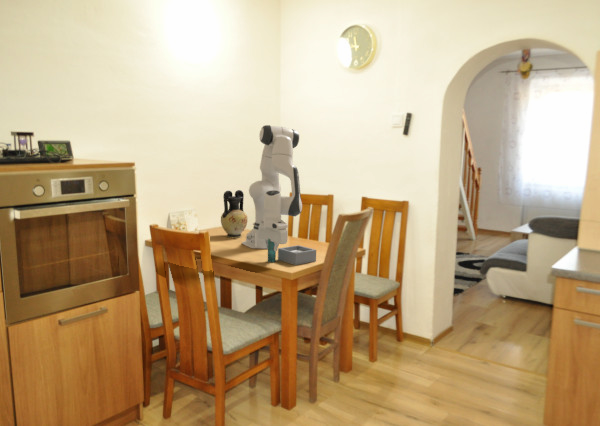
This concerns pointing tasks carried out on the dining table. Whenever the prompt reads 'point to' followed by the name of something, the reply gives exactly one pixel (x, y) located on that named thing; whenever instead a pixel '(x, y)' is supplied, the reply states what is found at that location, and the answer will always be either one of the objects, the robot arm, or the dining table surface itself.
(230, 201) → the amphora
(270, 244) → the peg
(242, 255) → the dining table surface
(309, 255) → the box
